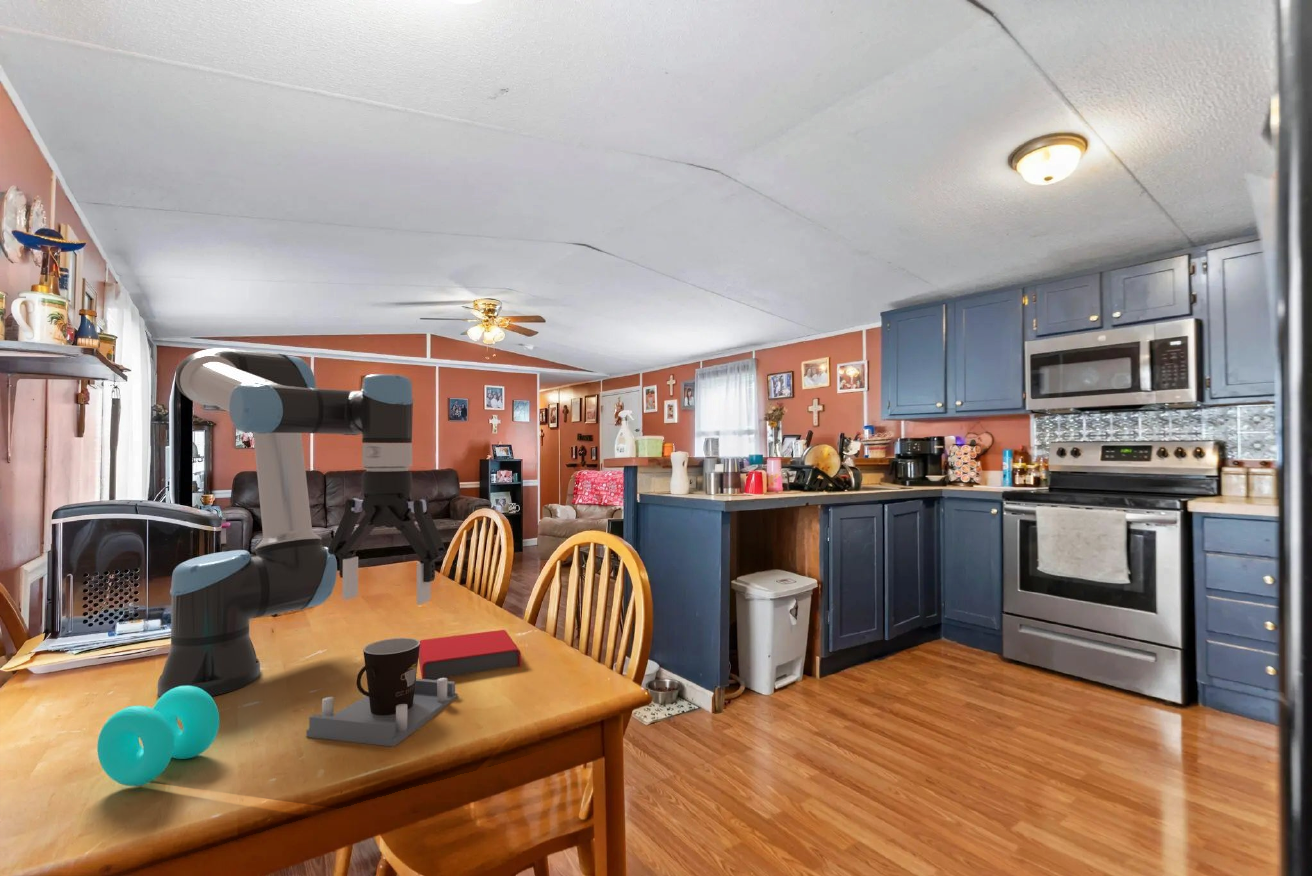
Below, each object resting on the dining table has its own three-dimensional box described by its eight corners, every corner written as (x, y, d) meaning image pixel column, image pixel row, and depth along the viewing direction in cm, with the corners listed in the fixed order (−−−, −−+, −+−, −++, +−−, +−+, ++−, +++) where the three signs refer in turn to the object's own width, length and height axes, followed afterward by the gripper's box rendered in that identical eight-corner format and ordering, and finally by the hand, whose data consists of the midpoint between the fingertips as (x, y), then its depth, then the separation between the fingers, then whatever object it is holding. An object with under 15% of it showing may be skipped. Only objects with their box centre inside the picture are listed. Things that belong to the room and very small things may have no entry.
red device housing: (506, 652, 132) (506, 629, 132) (520, 674, 119) (520, 648, 119) (418, 664, 125) (418, 640, 125) (422, 689, 112) (422, 662, 112)
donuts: (90, 787, 79) (91, 709, 79) (164, 749, 89) (164, 680, 89) (157, 793, 78) (158, 713, 78) (224, 754, 88) (225, 684, 88)
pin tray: (306, 736, 93) (306, 706, 93) (381, 692, 110) (381, 667, 110) (394, 746, 89) (394, 715, 90) (457, 699, 106) (457, 673, 107)
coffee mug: (403, 692, 107) (403, 634, 107) (430, 705, 102) (430, 644, 102) (334, 715, 98) (334, 651, 98) (359, 730, 93) (359, 663, 93)
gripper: (304, 469, 100) (303, 601, 99) (443, 471, 94) (442, 609, 94) (338, 468, 107) (337, 590, 107) (468, 469, 102) (467, 598, 101)
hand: (386, 600), depth 100 cm, fingers open, 13 cm apart
